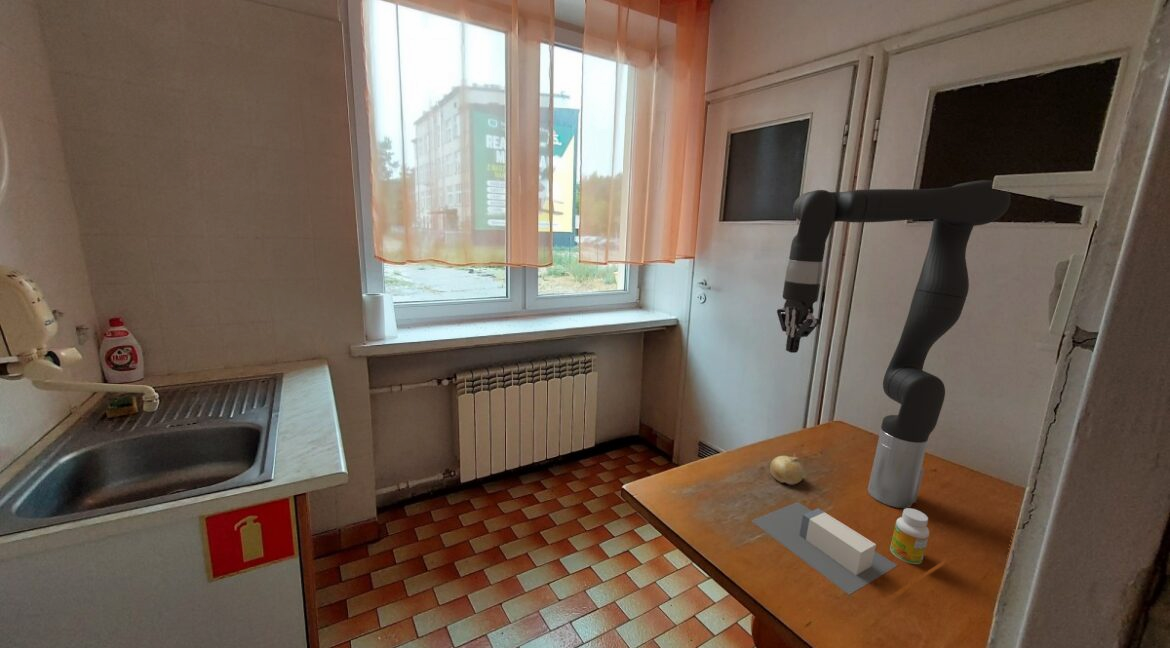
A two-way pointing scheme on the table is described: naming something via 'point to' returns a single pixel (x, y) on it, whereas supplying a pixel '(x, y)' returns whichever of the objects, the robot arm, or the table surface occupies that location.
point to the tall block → (837, 541)
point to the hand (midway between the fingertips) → (791, 351)
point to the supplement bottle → (910, 536)
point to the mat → (787, 532)
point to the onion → (787, 469)
